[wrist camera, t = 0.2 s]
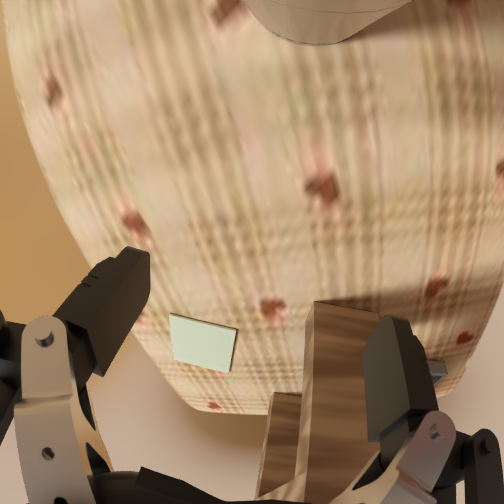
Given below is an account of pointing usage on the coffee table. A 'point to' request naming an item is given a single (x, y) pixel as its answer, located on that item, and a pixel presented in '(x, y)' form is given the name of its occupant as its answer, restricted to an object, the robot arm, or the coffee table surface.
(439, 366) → the trap tray
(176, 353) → the mat
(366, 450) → the tunnel gate
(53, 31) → the coffee table surface
